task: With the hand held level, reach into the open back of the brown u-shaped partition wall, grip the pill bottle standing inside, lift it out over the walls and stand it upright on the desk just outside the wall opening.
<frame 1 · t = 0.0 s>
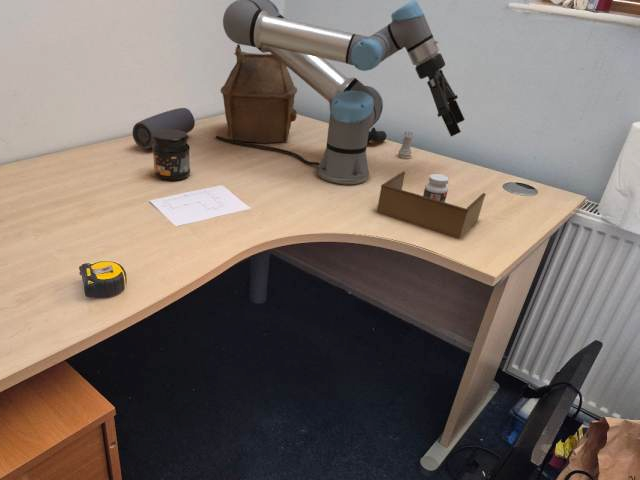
hand: (458, 128, 150), 15 cm above the table, tool tilted 35°, fingers open, 13 cm apart
supplement container: (172, 175, 152), on the table
gaming controller: (360, 141, 186), on the table
brown u-shaped partition wall: (430, 213, 137), on the table
pill bottle: (430, 213, 137), on the table
hut: (257, 135, 187), on the table
bluetooth speaker: (165, 143, 176), on the table
rook chess piece: (403, 157, 174), on the table
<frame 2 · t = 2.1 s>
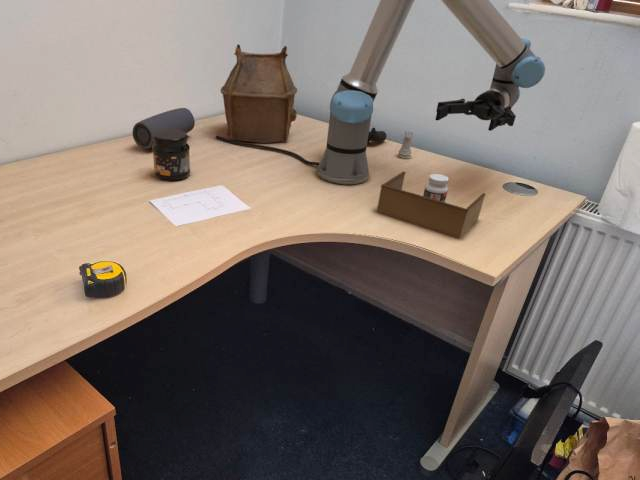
hand: (463, 119, 131), 22 cm above the table, tool horizontal, fingers open, 13 cm apart
nothing on the table moved.
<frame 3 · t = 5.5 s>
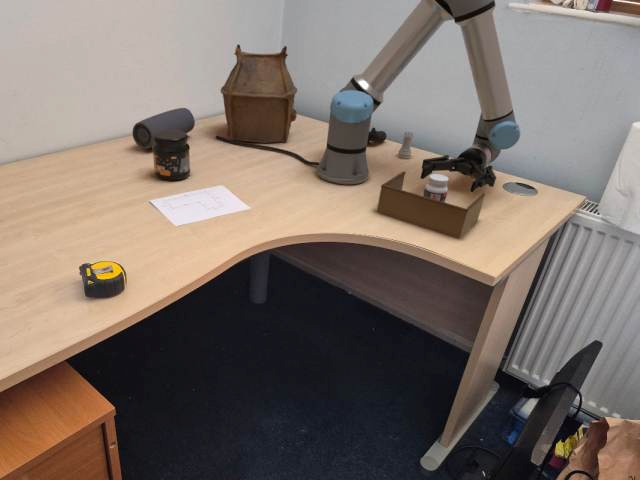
hand: (447, 180, 137), 7 cm above the table, tool horizontal, fingers open, 13 cm apart
nothing on the table moved.
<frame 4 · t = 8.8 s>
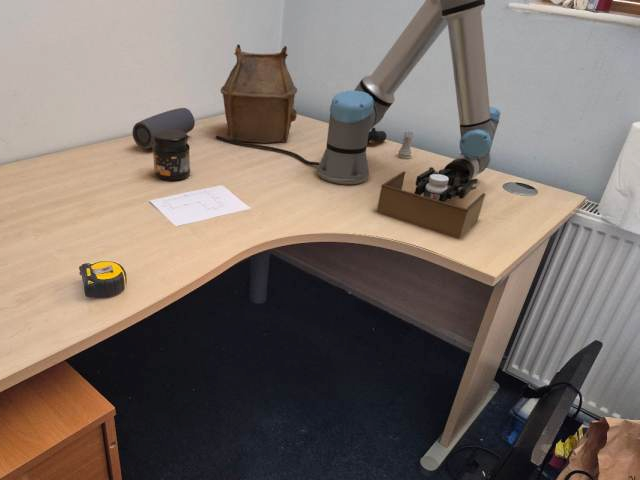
hand: (428, 196, 130), 7 cm above the table, tool horizontal, fingers closed on pill bottle, 6 cm apart
pill bottle: (430, 213, 137), on the table, touching gripper
everything else where it was.
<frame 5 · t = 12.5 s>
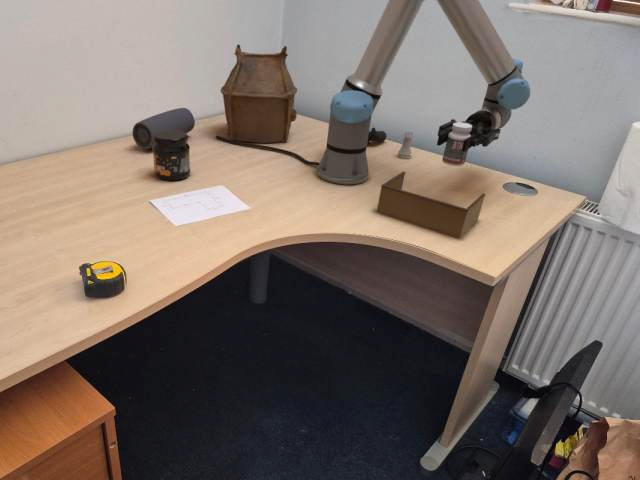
hand: (451, 142, 129), 18 cm above the table, tool horizontal, fingers closed on pill bottle, 6 cm apart
pill bottle: (452, 163, 136), point 11 cm above the table, touching gripper
everything else where it was.
when the fingers open (6 cm above the table, at t = 16.2 s): pill bottle stays where it is, on the table.
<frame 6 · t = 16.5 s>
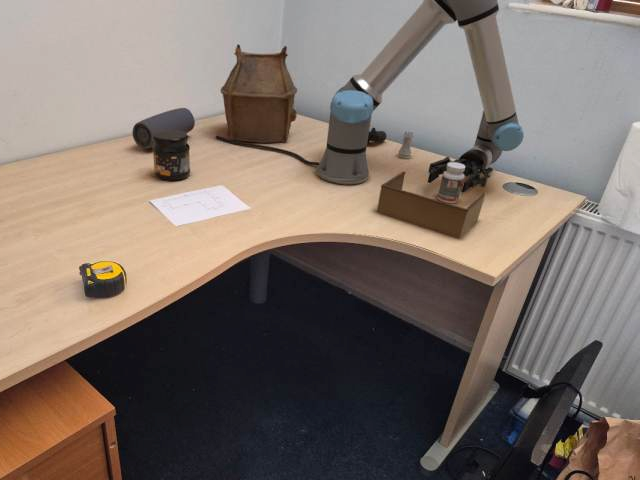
hand: (446, 182, 138), 6 cm above the table, tool horizontal, fingers open, 9 cm apart
pill bottle: (447, 200, 145), on the table
everything else where it was.
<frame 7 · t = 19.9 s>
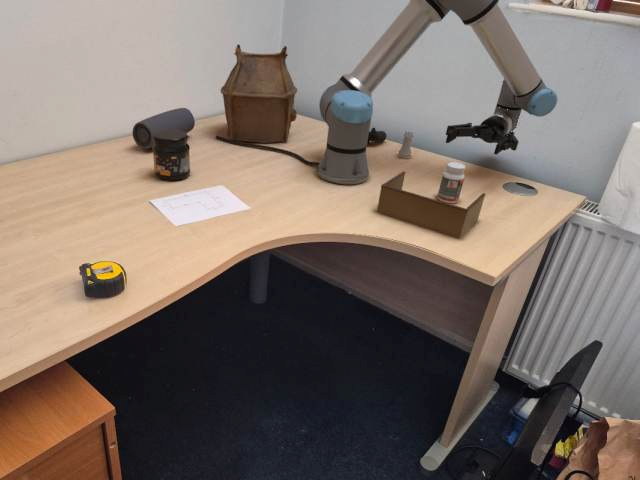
hand: (471, 143, 144), 13 cm above the table, tool horizontal, fingers open, 13 cm apart
nothing on the table moved.
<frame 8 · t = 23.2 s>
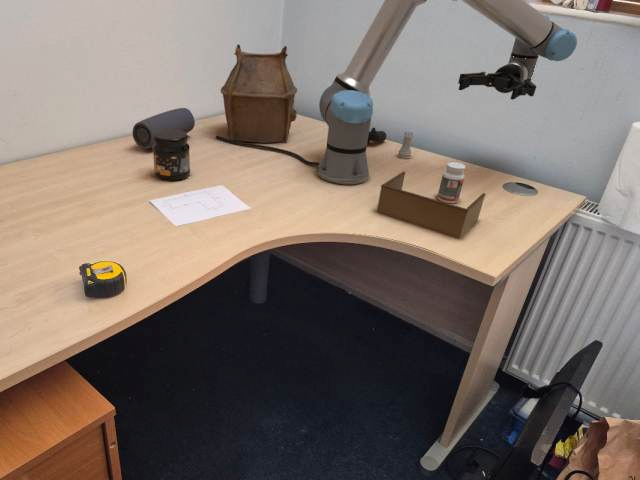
hand: (486, 89, 136), 28 cm above the table, tool horizontal, fingers open, 13 cm apart
nothing on the table moved.
at the end: pill bottle inside the target area (0.2 cm from its centre), on the table; pill bottle tilted 0°; the gripper is holding nothing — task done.
